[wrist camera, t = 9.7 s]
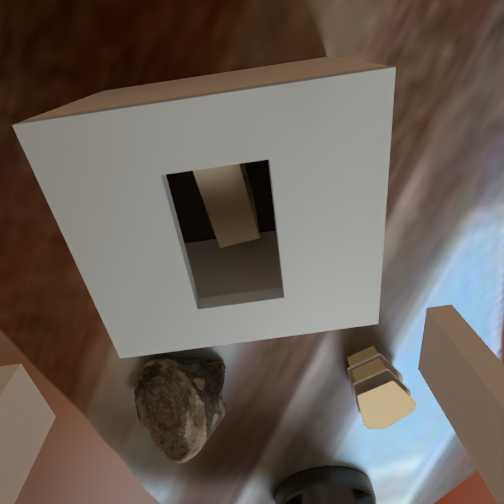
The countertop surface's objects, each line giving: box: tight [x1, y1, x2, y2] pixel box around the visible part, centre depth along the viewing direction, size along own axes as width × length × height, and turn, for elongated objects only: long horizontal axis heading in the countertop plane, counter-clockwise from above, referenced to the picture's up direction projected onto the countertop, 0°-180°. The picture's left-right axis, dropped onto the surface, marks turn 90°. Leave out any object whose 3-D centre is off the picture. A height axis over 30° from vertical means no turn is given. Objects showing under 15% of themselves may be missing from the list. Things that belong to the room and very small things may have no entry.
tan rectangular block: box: [193, 163, 260, 248], centre depth 25 cm, size 6×3×7 cm, turn 14°
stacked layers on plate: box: [347, 346, 416, 429], centre depth 39 cm, size 10×9×6 cm
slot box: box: [12, 57, 396, 359], centre depth 23 cm, size 14×16×12 cm
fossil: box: [134, 355, 226, 463], centre depth 38 cm, size 11×9×10 cm
